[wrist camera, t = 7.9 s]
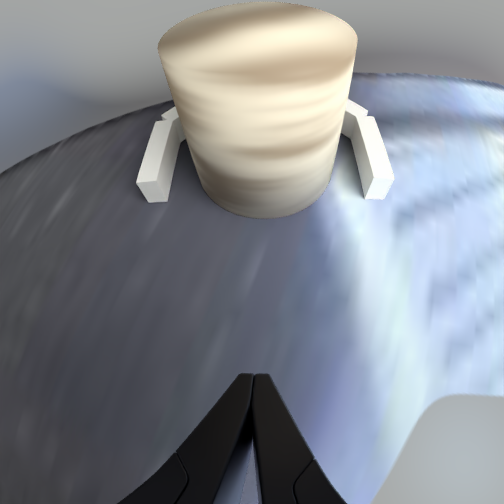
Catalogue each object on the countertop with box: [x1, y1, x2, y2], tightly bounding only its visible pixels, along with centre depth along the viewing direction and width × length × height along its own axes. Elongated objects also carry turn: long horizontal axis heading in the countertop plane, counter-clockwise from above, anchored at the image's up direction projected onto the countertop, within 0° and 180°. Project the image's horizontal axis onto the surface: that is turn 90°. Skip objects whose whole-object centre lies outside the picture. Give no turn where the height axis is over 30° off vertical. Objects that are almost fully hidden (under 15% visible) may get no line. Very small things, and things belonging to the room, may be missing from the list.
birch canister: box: [158, 2, 357, 219], centre depth 17 cm, size 10×10×11 cm
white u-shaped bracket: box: [136, 99, 395, 203], centre depth 21 cm, size 12×17×2 cm
